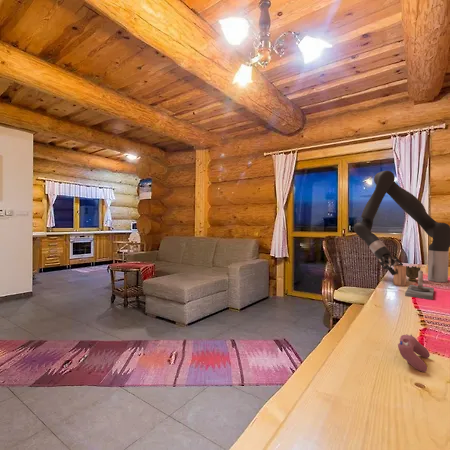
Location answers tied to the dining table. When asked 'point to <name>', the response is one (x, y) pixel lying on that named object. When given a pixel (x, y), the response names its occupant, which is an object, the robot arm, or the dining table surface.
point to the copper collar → (399, 275)
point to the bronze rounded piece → (412, 272)
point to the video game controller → (413, 352)
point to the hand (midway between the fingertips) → (399, 273)
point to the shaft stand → (420, 289)
